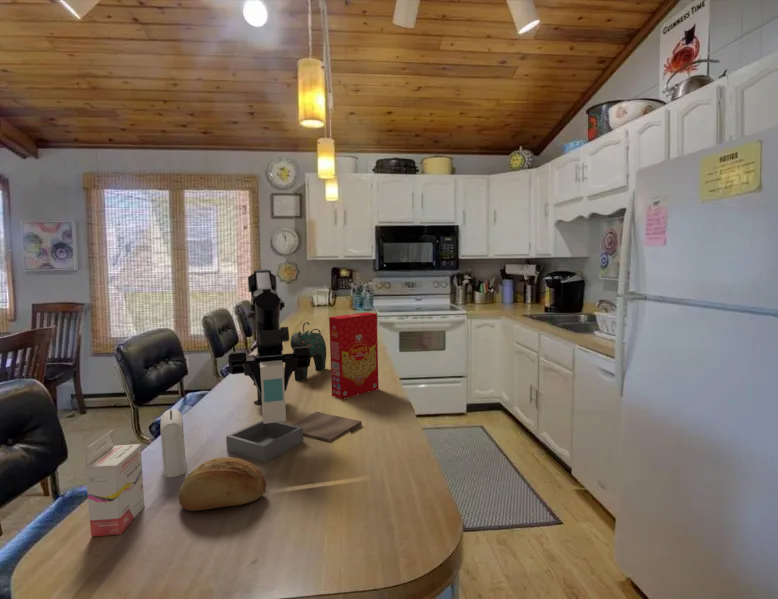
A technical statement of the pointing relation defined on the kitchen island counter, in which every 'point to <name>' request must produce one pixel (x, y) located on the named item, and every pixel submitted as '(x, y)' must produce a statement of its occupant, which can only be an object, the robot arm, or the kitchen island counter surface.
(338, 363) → the food packaging
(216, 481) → the bread roll
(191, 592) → the kitchen island counter surface
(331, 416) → the board
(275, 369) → the carton
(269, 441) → the tub
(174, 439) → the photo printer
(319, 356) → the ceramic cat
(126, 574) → the kitchen island counter surface
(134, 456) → the ink cartridge box
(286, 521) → the kitchen island counter surface
